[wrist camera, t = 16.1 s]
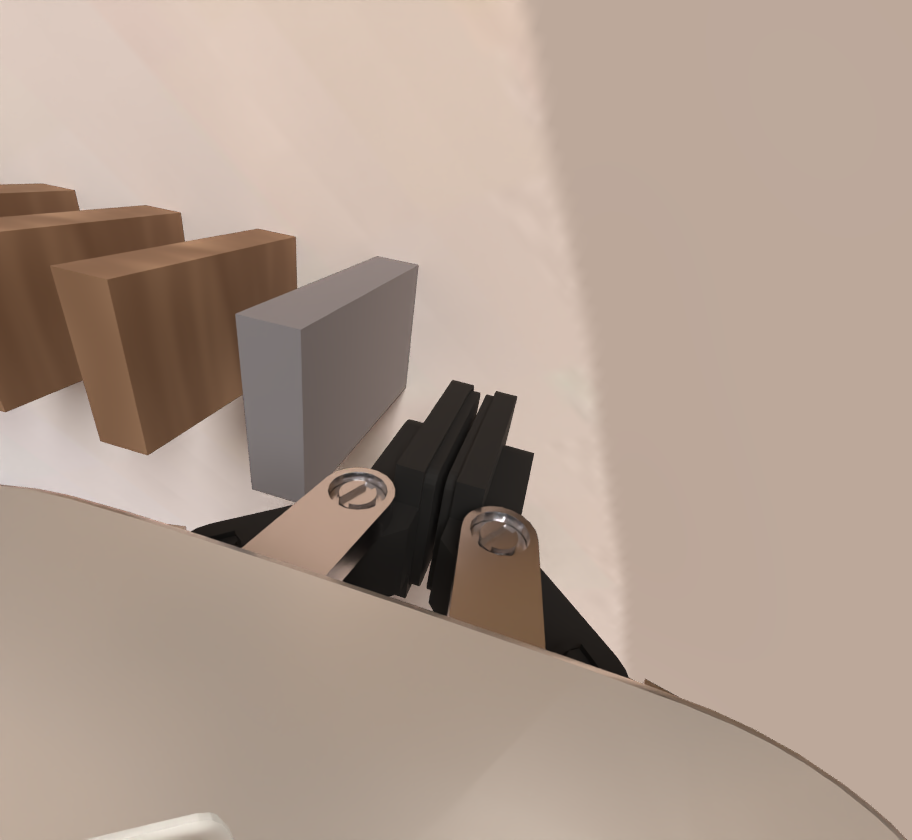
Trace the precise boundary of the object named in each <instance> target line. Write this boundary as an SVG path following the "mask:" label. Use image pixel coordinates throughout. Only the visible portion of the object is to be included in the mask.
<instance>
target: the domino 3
mask: <svg viewBox="0 0 912 840" xmlns="http://www.w3.org/2000/svg"><path fill="white" fill-rule="evenodd" d="M417 274H418V265H416V264H412V263H407V262H402V261H397V260H393V259H388V258H383V257H378V256H377V257H374V258H372V259H369V260H367V261H364V262H362V263H360V264H357V265H355V266H352V267H350V268H347V269H345V270H342V271H340V272H337V273H335V274H332V275H330V276H327V277H325V278H322V279H320V280H318V281H315V282H313V283H310V284H308V285H305V286H303V287H300V288H298V289H295V290H293V291H290V292H288V293H285V294H283V295H280V296H278V297H276V298H273V299H271V300H268V301H266V302H263V303H261V304H258V305H256V306H253V307H251V308H248V309H246V310H243V311H241V312H238V313H236V314H235V317H236V327H237V338H238V348H239V358H240V369H241V379H242V390H243V400H244V410H245V421H246V431H247V441H248V452H249V462H250V472H251V483H252V489H253V490H256V491H260V492H263V493H266V494H270V495H273V496H276V497H280V498H283V499H286V500H289V501H293V502H297V501H299V500H300V499H301V498H302V497H303V496H305V495H306V494H307V493H308V492H309V491H311V490H312V489H313V488H314V487H315V486H317V485H318V484H319V483H320V482H321V481H323V480H324V479H325V478H326V477H327V476H329V475H331V474H332V473H333V472H334V471H335V469H336V468H337V467H338V466H339V465H340V464H341V462H342V461H343V460H344V459H345V458H346V457H347V455H348V454H349V453H350V452H351V451H352V450H353V448H354V447H355V446H356V445H357V444H358V443H359V441H360V440H361V439H362V438H363V437H364V436H365V434H366V433H367V432H368V431H369V430H370V429H371V427H372V426H373V425H374V424H375V423H376V422H377V420H378V419H379V418H380V417H381V416H382V415H383V413H384V412H385V411H386V410H387V409H388V408H389V406H390V405H391V404H392V403H393V402H394V401H395V399H396V398H397V397H398V396H399V395H400V394H401V392H402V391H403V390H404V389H405V388H406V382H407V372H408V362H409V352H410V343H411V333H412V323H413V313H414V303H415V294H416V284H417Z"/></svg>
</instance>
